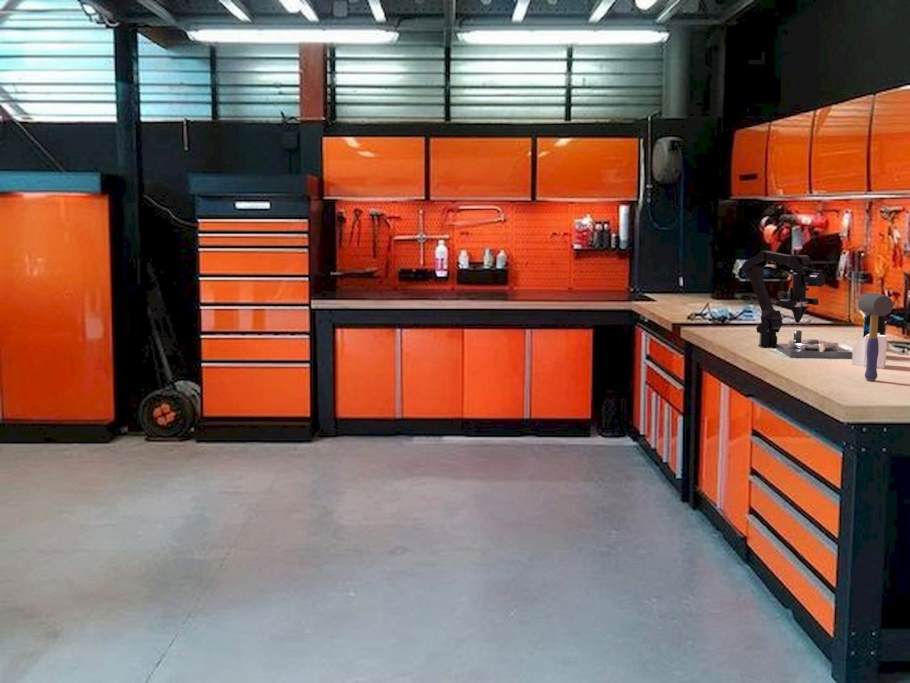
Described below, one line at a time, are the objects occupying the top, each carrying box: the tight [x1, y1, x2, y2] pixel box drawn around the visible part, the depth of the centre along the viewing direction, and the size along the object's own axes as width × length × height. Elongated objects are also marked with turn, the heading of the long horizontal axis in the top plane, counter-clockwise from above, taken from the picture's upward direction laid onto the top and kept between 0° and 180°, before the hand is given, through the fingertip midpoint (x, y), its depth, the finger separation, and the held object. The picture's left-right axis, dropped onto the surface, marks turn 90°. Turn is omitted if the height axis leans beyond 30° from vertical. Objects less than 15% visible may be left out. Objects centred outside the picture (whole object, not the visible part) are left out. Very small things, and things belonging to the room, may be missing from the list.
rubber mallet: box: [857, 292, 894, 382], centre depth 322 cm, size 12×8×30 cm, turn 2°
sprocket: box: [787, 329, 839, 350], centre depth 387 cm, size 20×20×7 cm
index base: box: [775, 343, 853, 359], centre depth 388 cm, size 24×24×6 cm
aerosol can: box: [862, 313, 887, 338], centre depth 381 cm, size 8×8×20 cm
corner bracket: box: [851, 333, 888, 370], centre depth 357 cm, size 11×11×12 cm
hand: (797, 322), depth 395 cm, fingers closed
